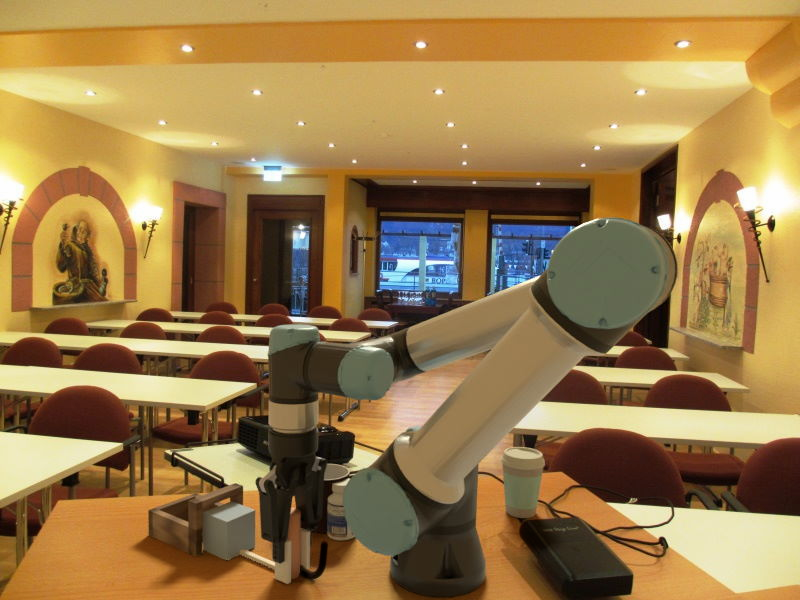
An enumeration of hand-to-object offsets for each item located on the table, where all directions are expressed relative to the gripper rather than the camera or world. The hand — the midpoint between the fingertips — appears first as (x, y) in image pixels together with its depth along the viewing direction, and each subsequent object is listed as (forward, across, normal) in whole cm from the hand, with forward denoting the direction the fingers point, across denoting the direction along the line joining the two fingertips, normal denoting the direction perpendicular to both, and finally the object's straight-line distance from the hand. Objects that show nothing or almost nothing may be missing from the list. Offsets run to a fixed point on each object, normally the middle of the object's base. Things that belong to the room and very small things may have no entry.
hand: (292, 574), depth 98 cm
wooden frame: (0, 0, -23) cm, 23 cm away
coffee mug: (0, -18, -8) cm, 20 cm away
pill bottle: (+1, -16, -3) cm, 16 cm away
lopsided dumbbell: (0, 0, -8) cm, 9 cm away
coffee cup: (+1, -45, +18) cm, 49 cm away
